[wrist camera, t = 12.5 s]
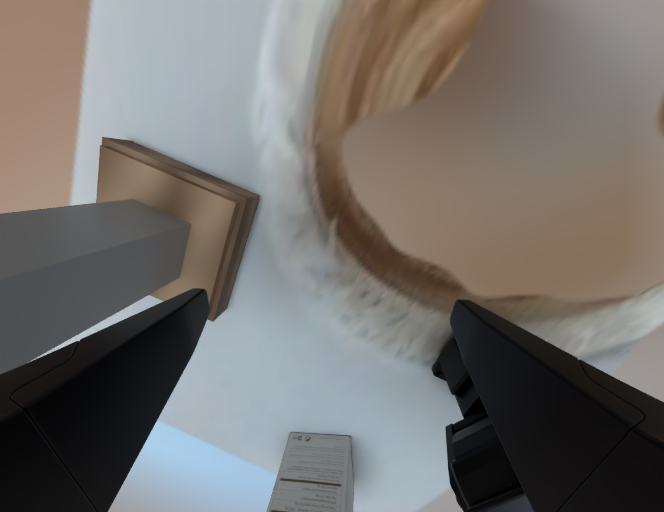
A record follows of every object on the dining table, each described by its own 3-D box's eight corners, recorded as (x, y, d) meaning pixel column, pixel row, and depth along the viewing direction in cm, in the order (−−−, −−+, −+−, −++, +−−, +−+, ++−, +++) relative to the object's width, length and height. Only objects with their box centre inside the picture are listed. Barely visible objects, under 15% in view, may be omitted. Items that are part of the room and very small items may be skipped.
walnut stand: (259, 196, 22) (243, 199, 19) (226, 308, 26) (209, 325, 23) (129, 140, 22) (94, 135, 19) (116, 261, 26) (86, 272, 23)
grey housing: (191, 223, 20) (-33, 289, 9) (180, 277, 22) (-21, 389, 11) (132, 198, 20) (-166, 232, 9) (126, 254, 22) (-133, 341, 11)
